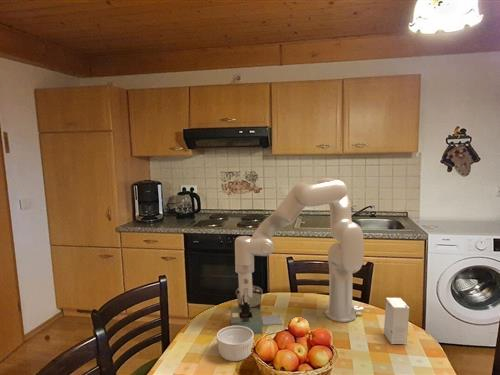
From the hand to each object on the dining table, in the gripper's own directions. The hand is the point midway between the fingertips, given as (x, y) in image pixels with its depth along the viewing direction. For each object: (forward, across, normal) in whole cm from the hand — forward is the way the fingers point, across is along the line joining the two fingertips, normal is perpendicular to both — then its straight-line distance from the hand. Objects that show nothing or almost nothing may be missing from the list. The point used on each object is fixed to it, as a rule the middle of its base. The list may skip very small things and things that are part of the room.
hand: (245, 311), depth 144 cm
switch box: (+7, 0, 0) cm, 7 cm away
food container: (+7, +16, -3) cm, 18 cm away
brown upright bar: (+5, 0, 0) cm, 5 cm away
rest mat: (+7, +4, -11) cm, 14 cm away
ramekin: (+7, -18, +5) cm, 20 cm away
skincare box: (+6, -16, -55) cm, 58 cm away
